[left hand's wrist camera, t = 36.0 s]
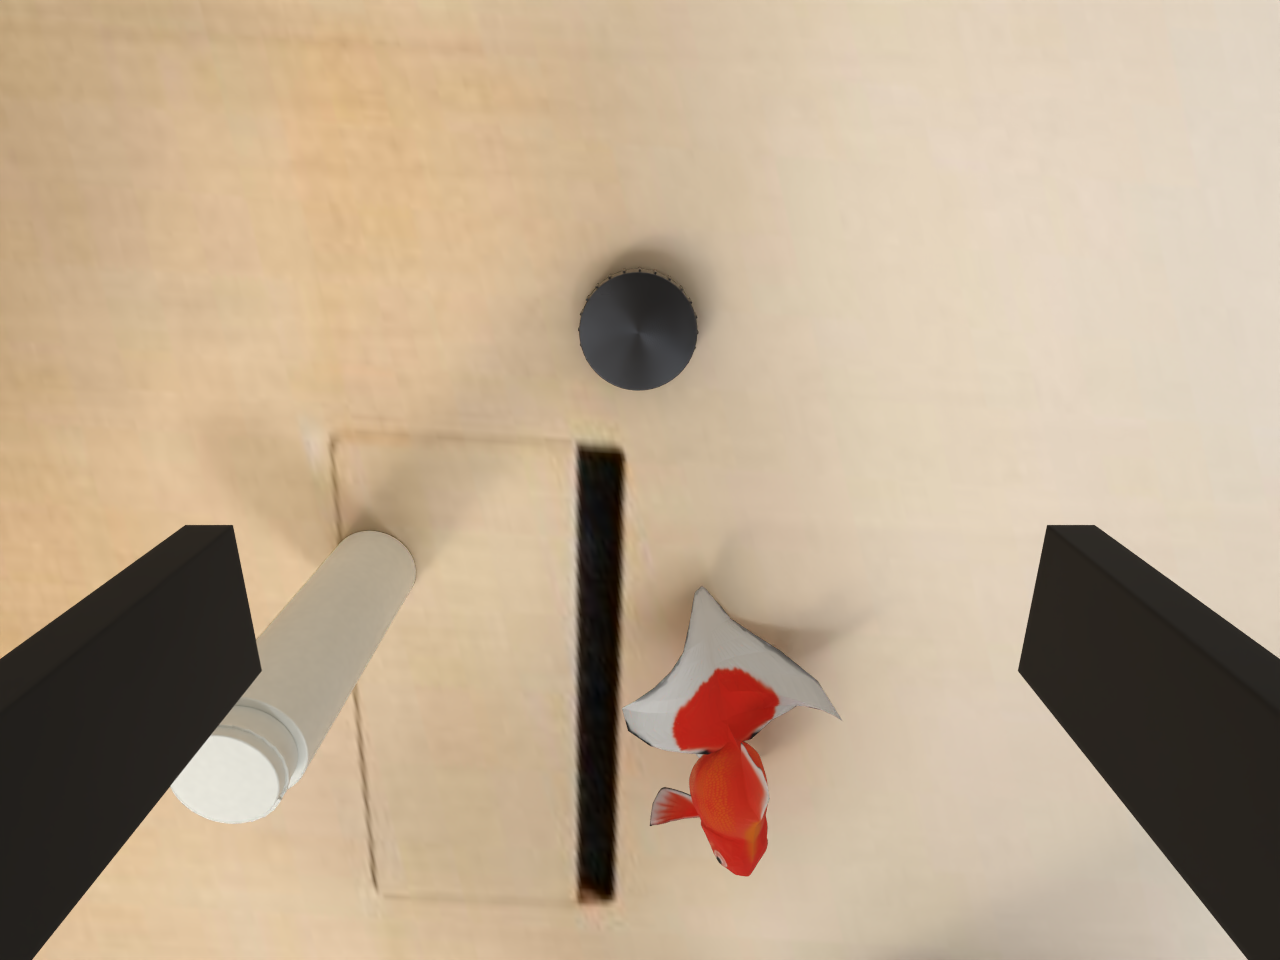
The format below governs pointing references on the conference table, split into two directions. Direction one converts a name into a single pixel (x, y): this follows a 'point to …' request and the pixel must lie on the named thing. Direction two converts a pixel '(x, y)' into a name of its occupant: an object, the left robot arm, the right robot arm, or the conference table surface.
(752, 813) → the fish
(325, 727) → the jar
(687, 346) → the lid
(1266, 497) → the conference table surface
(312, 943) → the conference table surface
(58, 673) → the left robot arm
